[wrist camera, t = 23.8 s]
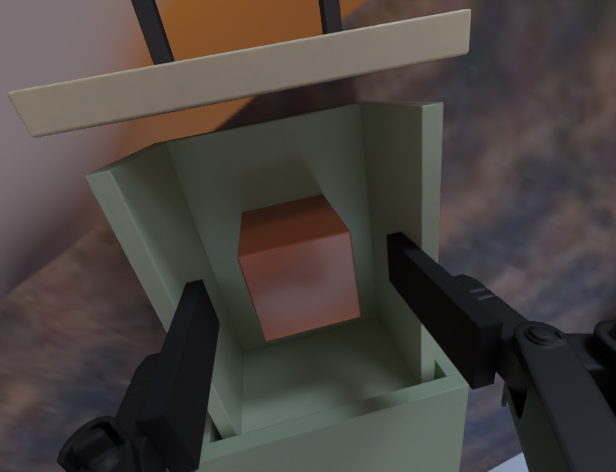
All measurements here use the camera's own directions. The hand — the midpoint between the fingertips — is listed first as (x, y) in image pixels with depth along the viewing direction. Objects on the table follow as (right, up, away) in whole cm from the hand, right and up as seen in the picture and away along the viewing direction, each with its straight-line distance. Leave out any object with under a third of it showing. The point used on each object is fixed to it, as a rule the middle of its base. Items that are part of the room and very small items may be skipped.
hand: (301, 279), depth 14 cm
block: (-1, +2, +4) cm, 5 cm away
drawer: (-1, +5, +4) cm, 7 cm away
